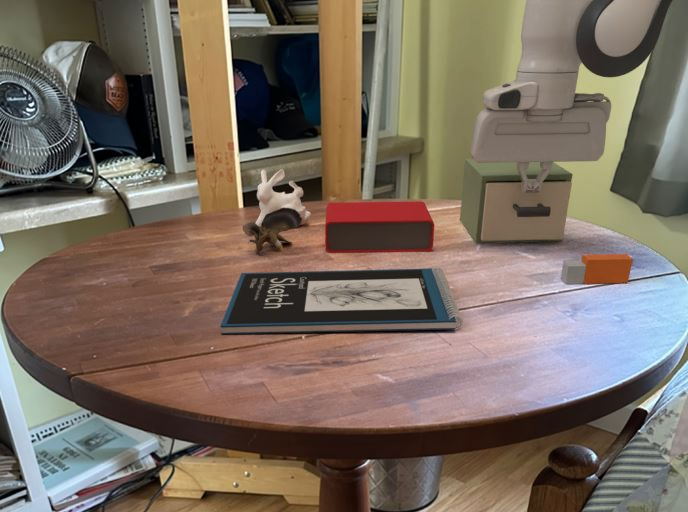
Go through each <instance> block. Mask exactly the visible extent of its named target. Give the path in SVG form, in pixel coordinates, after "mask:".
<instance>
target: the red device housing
mask: <svg viewBox="0 0 688 512" xmlns="http://www.w3.org/2000/svg"><path fill="white" fill-rule="evenodd" d="M325 209H326V211H325V224H324V233H325V235H324V236H325V250H326V252H327V253H328V254H329V253H330V254H334V253H335V254H336V253H337V254H338V253H339V254H341V253H343V254H345V253H349V254H350V253H409V252H410V253H413V252H415V253H418V252H420V253H423V252H430V251H432V250H433V248H434V240H435V239H434V237H435V222H434V219H433V218H432V216H431V214H430V212H429V210H428V208H427V205H426V203H425V202H424V201H422V200H420V201H361V202H360V201H359V202H358V201H357V202H355V201H353V202H329V203H328V204H327V205H326V208H325Z"/></svg>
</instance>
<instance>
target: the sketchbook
mask: <svg viewBox="0 0 688 512" xmlns="http://www.w3.org/2000/svg"><path fill="white" fill-rule="evenodd" d="M463 324H464V319H463V317H462V314H461V312H460V310H459V307H458V305H457V302H456V299H455V297H454V294H453V292H452V290H451V287H450V285H449V281H448V280H447V277H446V275H445V273H444V270H443V269H442V268H441V267H439V266H435V267H433V268H431V267H430V268H396V269H395V268H394V269H393V268H391V269H389V268H388V269H357V270H356V269H352V270H351V269H349V270H347V269H346V270H313V271H311V270H310V271H308V270H307V271H274V272H273V271H269V272H241V273H240V276H239V279H238V281H237V283H236V286H235V288H234V290H233V293H232V296H231V298H230V301H229V304H228V306H227V308H226V311H225V313H224V316H223V319H222V321H221V323H220V326H219V327H220V334H221V335H248V334H249V335H251V334H253V335H254V334H258V335H259V334H296V333H297V334H298V333H299V334H303V333H305V334H306V333H342V332H345V333H347V332H350V333H351V332H387V331H389V332H390V331H391V332H392V331H433V330H435V331H437V330H441V331H443V330H454V331H455V330H459V329H460V328H461V327H463Z"/></svg>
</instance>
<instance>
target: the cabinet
mask: <svg viewBox="0 0 688 512" xmlns="http://www.w3.org/2000/svg"><path fill="white" fill-rule="evenodd" d="M516 167H517V162H502V163H477V162H476V161H475V160H474V159H473V158H472V157H471V158H465V159H464V167H463V169H464V170H463V177H462V190H461V201H460V202H461V204H460V214H459V220H460V222H461V223H462V225H463V226H464V229H466V231H467V233H468V234H469V236H470V238H471V239H472V240H473V242H474V243H475V244H495V243H496V244H497V243H500V244H501V243H551V242H555V243H556V242H558V243H559V242H560V243H561V242H563V239H550V240H494V241H482V240H481V231H482V221H483V211H484V201H485V191H486V183H487V181H522V179H521V177H520V175H519V173H518V170H517V168H516ZM524 170H525V169H524ZM541 170H542V168H541V167H540V162H529V167H528V170H525V173H526V175H527V178H528V179H536V178H537V176H538V175H539V173H540V172H541ZM545 180H561V181H562V182H571V183H572V182H573V181H572V180H573V173H572V172H570V171H569V170H567V169H566V168H564V167H562V166H561V165H559V164H557V162H553V164H552V170H551V171H550V173H549V174H548V175H547V177H546V178H545Z"/></svg>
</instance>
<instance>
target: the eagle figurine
mask: <svg viewBox="0 0 688 512" xmlns="http://www.w3.org/2000/svg"><path fill="white" fill-rule="evenodd" d="M301 220H302V218H301V217H300V214H299V213H298V211H296V210H295V209H290V208H285V207H284V208H281V209H279V210H276V211H273V212H272V213H268V214H266V215H265V217H264V219H263V221H262V223H261V227H260V226H258V225H257V224H255V223H256V222H254V221H253V220H249V221H246V222H245V223H244V224H243V225H242V226H241V227H242V232H244V234H245V236H247V237H253V236H254V239H249V243H254V244H255V248H256V249H255V254H256V255H258V254H260V252H261V251H262V250H263V246H264V244H265V243H268V244H270V245H272V246H275V247H276V248H277V249H279V250H280V251H281V252H282V251H283V252H284V248H283V247H284V246H283V244H282V243H281V242H283V243H287V244H293V241H289V240H287V239H285V237H283V236H282V235H281V234H279V233H283V232H287V231H289V230H294V229H297V228H299V227H300V226H301V225H299V224H300V223H301Z"/></svg>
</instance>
